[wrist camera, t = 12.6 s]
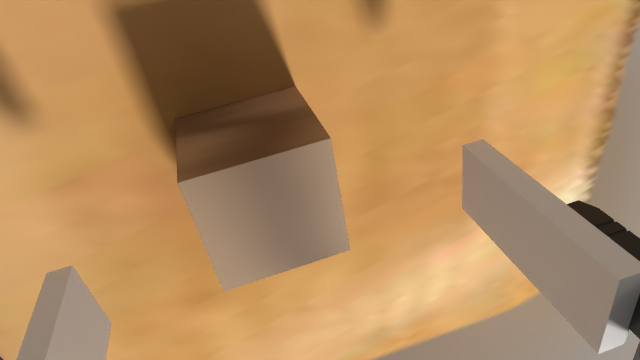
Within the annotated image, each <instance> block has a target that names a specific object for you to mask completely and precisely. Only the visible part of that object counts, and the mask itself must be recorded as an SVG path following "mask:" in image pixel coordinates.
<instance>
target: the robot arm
mask: <svg viewBox="0 0 640 360" xmlns="http://www.w3.org/2000/svg"><path fill="white" fill-rule="evenodd" d="M462 208H463V209H464V210H465V211H466V212H467V213H468V215H469V216H470V217H471V218H472V219H473V220H474V221H475V222H476V223H477V224H478V225H479V226H480V227H481V229H482V230H483V231H484V232H485V233H486V234H487V235H488V236H489V237H490V238H491V239H492V240H493V241H494V243H495V244H496V245H497V246H498V247H499V248H500V249H501V250H502V251H503V252H504V253H505V254H506V255H507V257H508V258H509V259H510V260H511V261H512V262H513V263H514V264H515V265H516V266H517V267H518V268H519V269H520V271H521V272H522V273H523V274H524V275H525V276H526V277H527V278H528V279H529V280H530V281H531V282H532V283H533V284H534V286H535V287H536V288H537V289H538V290H539V291H540V292H541V293H542V294H543V295H544V296H545V297H546V298H547V300H548V301H549V302H550V303H551V304H552V305H553V306H554V307H555V308H556V309H557V310H558V311H559V312H560V314H561V315H562V316H563V317H564V318H565V319H566V320H567V321H568V322H569V323H570V324H571V325H572V326H573V328H574V329H575V330H576V331H577V332H578V333H579V334H580V335H581V336H582V337H583V338H584V339H585V340H586V342H588V344H589V345H590V346H591V347H592V348H593V349H594V350H595V351H596V352H597V353H598V354H599V353H602V352H605V351H607V350H610V349H612V348H615V347H618V346H620V345H623V344H624V343H625V340H626V336H627V334H628V331H629V329H630V330H631V331H632V332H633V333H634V334H635V335H636V336H637V337H638V338H639V339H640V238H638V237H637V236H636V235H634V234H633V233H632V232H630V231H627V230H626V228H625V227H623V226H622V225H621V224H619V223H618V222H614V220H613V219H612V218H611V217H610V216H608V215H607V214H606V213H604V212H603V211H601V210H600V209H599V208H596V207H594V206H592V205H589V204H586V203H584V202H581V201H579V200H578V201H575V202H572V203H569V204H565V203H564V202H563V201H562V200H560V199H559V198H558V197H556V196H555V195H554V194H553V193H551V192H550V191H549V190H547V189H546V188H545V187H544V186H542V185H541V184H540V183H538V182H537V181H536V180H535V179H533V178H532V177H531V176H529V175H528V174H527V173H526V172H524V171H523V170H522V169H520V168H519V167H518V166H517V165H515V164H514V163H513V162H511V161H510V160H509V159H508V158H506V157H505V156H504V155H503V154H501V153H500V152H499V151H497V150H496V149H495V148H494V147H492V146H491V145H490V144H488V143H487V142H486V141H485V140H483V139H482V140H479V141H476V142H472V143H469V144H466V145H463V189H462ZM110 328H111V321H110V320H109V318H108V317H107V315H106V314H105V312H104V311H103V310H102V308H101V307H100V305H99V304H98V302H97V301H96V299H95V298H94V296H93V295H92V294H91V292H90V291H89V289H88V288H87V286H86V285H85V283H84V282H83V280H82V279H81V278H80V276H79V275H78V273H77V272H76V270H75V269H74V267H73V266H69V267H66V268H62V269H59V270H56V271H53V272H49V273H47V274H46V276H45V279H44V282H43V285H42V288H41V291H40V294H39V297H38V299H37V302H36V305H35V308H34V311H33V314H32V317H31V319H30V322H29V325H28V328H27V331H26V334H25V337H24V339H23V342H22V345H21V348H20V351H19V354H18V357H17V360H106V354H107V348H108V341H109V335H110ZM633 360H640V342H639V345H638V347H637V350H636V353H635V356H634V358H633Z"/></svg>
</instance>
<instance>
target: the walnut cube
mask: <svg viewBox="0 0 640 360" xmlns="http://www.w3.org/2000/svg"><path fill="white" fill-rule="evenodd" d="M175 124H176V153H177V183H178V185H179V188H180V190H181V192H182V195H183V197H184V199H185V202H186V204H187V206H188V209H189V211H190V214H191V216H192V218H193V221H194V223H195V225H196V228H197V230H198V232H199V235H200V237H201V239H202V242H203V244H204V246H205V249H206V251H207V253H208V256H209V258H210V261H211V263H212V265H213V268H214V270H215V272H216V275H217V277H218V279H219V282H220V284H221V286H222V289H223V291H227V290H230V289H233V288H236V287H239V286H242V285H245V284H248V283H251V282H254V281H257V280H260V279H263V278H266V277H269V276H272V275H275V274H278V273H281V272H284V271H287V270H291V269H294V268H297V267H300V266H303V265H306V264H309V263H312V262H315V261H318V260H321V259H324V258H327V257H330V256H333V255H336V254H339V253H342V252H345V251H348V250H350V246H349V240H348V234H347V229H346V223H345V217H344V211H343V206H342V200H341V194H340V188H339V183H338V177H337V171H336V165H335V160H334V154H333V148H332V143H331V138H330V136H329V135H328V133H327V132H326V130H325V129H324V127H323V126H322V125H321V123H320V122H319V120H318V119H317V117H316V116H315V114H314V113H313V111H312V110H311V108H310V107H309V105H308V104H307V102H306V101H305V99H304V98H303V97H302V95H301V94H300V92H299V91H298V89H297V88H296V86H295V87H291V88H287V89H284V90H280V91H276V92H272V93H269V94H265V95H261V96H258V97H254V98H250V99H247V100H243V101H239V102H236V103H232V104H228V105H225V106H221V107H217V108H214V109H210V110H206V111H203V112H199V113H195V114H191V115H188V116H184V117H180V118H177V119H175Z"/></svg>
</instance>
